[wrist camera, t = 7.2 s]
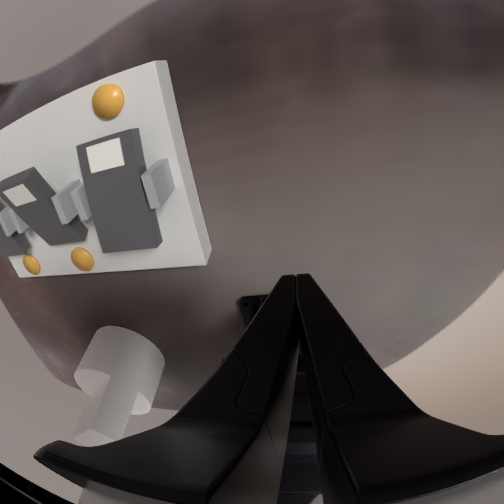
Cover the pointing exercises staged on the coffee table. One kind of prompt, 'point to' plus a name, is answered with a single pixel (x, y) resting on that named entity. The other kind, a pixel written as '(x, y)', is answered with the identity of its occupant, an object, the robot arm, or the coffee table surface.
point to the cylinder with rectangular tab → (116, 383)
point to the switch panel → (71, 182)
